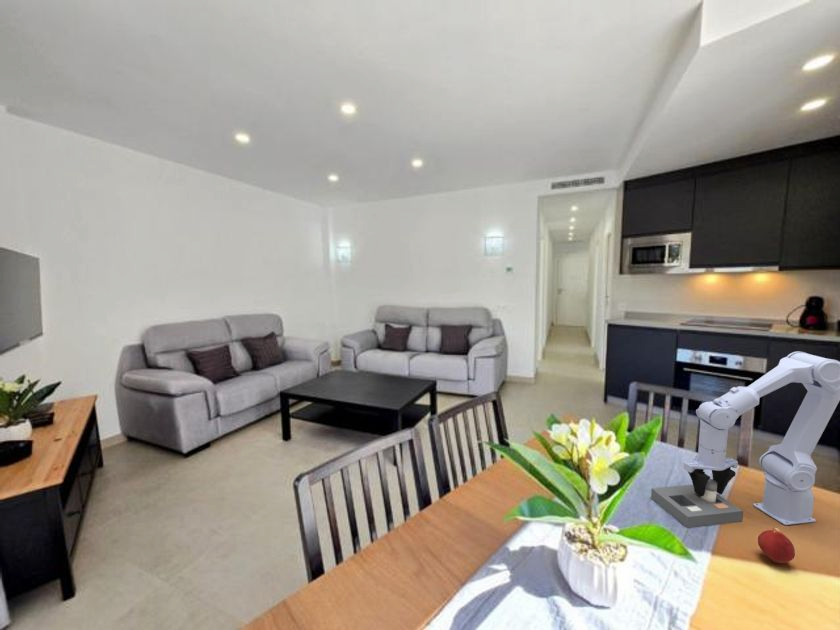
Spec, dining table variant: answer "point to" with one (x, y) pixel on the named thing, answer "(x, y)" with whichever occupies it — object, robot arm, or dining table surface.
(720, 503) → the socket panel
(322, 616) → the dining table surface
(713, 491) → the plug
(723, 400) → the robot arm
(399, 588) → the dining table surface
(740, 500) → the dining table surface
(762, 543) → the red rounded oval piece
